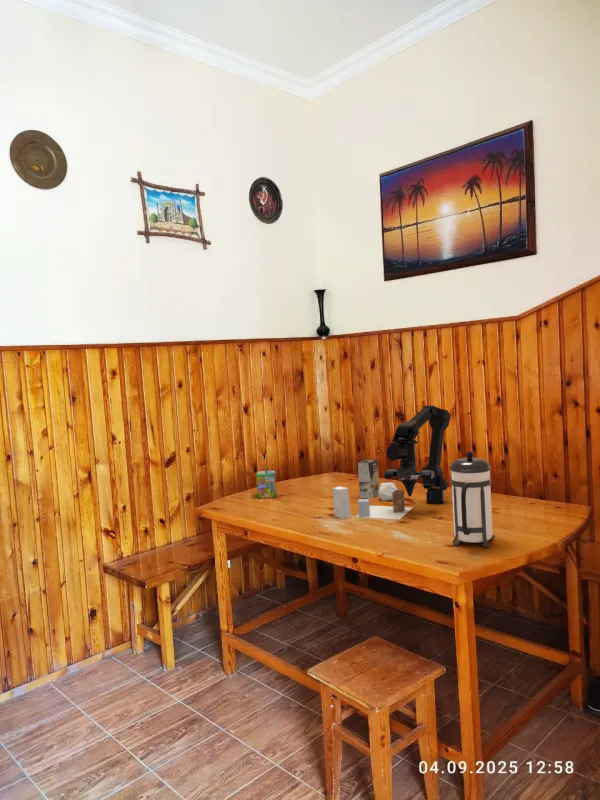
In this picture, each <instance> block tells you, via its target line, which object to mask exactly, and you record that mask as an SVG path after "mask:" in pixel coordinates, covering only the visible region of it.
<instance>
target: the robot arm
mask: <svg viewBox="0 0 600 800" xmlns="http://www.w3.org/2000/svg"><path fill="white" fill-rule="evenodd" d="M451 416H452V415H451V413H450V412H449V411H448V409H442V408H439V407H437V406H436V405H424V406H422V408H421V409H420V410H419V411H418V412H417V413H416V414H415V415H414V416H413V417H412V418H411V419H410V420H408V421H404V422H401V423H400V424H399V425H398V426H397V427H396V429H395V433H394V435H393V438H392V441H391V442H390V445H389V446H388V447H387V449H386V453H385V454H386V457H387V458H388V459H389V460H390V461H393V462H394V461H397V460H400V461H399V466H398V467H397V468H396V469H395V468H388V469H386V470H385V471H384V473H383V479H387V480H390V479H393V478H394V477H397V478H398V479H397V480H398V481H399V482H401V483H402V484H403V486H404V488H405V490H406V494H407V495H408V497H411V496H412V494H413V492H414V489H415V485H416V483H417V482H418V481H420V479H421V483H422V486H423V489H426V490H427V492H425V493H426V494H425V495H426V498H425V499H426V504H429V505H444V503H445V502H446V500H445V491H446V490H448V486H449V485H448V482H447V480H446V479H445V478H444V471H443V469H442V467H441V462H442V453H443V444H444V438H445V437H444V436H445V435H444V434H445V431H446V430H447V428H448V427H449V425H450V422H451V421H450V420H451V418H452V417H451ZM427 422H428V423H429V426H430V428H431V436H430V444H429V451H428V452H429V454H428V461H427V465H426V466H424V467H422V469H421V471H417V465H416V464H417V463H416V462H417V458H416V444H418V441H417V440H416V438H417V436H418V435H419V434H420V431H419V430H420V429H421V428H422V427H423V426H424V425H425V424H426V423H427Z"/></svg>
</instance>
